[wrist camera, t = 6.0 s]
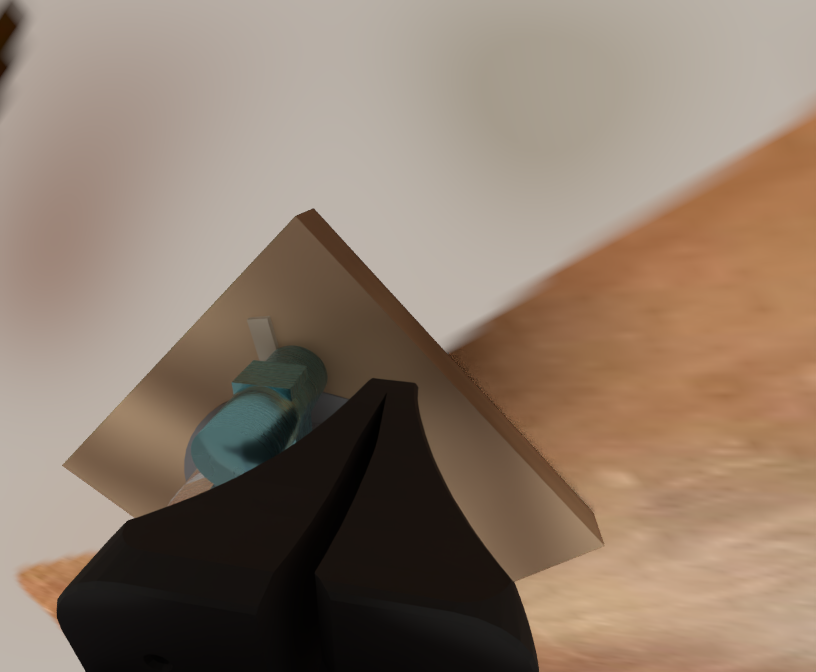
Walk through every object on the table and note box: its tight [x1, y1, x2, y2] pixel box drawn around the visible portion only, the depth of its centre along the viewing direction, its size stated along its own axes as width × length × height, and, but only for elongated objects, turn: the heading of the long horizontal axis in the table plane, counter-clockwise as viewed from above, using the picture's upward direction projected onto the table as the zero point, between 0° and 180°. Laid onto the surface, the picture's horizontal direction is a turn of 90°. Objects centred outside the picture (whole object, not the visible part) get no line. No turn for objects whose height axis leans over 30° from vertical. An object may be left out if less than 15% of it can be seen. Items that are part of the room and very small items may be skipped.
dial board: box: [62, 209, 605, 582], centre depth 17 cm, size 16×16×2 cm
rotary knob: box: [168, 345, 328, 506], centre depth 13 cm, size 12×9×4 cm
